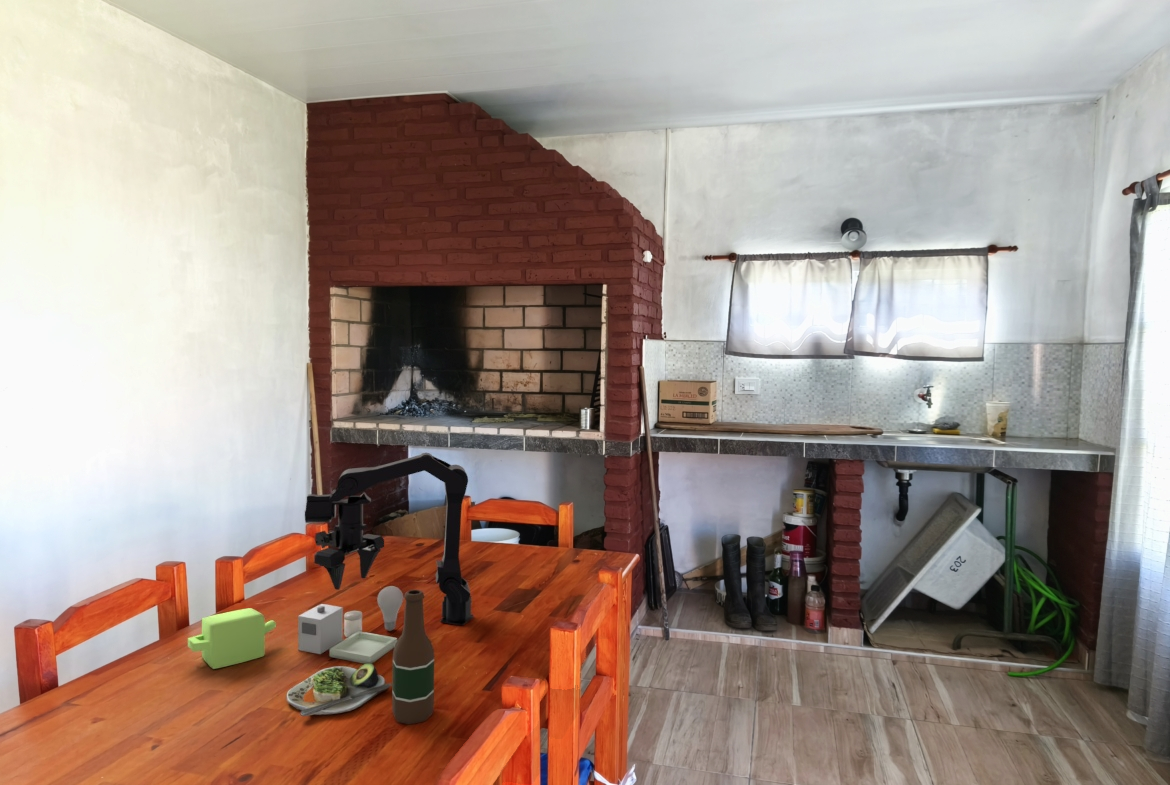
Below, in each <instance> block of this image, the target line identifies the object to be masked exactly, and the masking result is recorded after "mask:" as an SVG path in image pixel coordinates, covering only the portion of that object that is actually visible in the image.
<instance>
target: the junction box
mask: <svg viewBox="0 0 1170 785" xmlns="http://www.w3.org/2000/svg"><path fill="white" fill-rule="evenodd" d="M297 618H298V621H297V622H298V623H297V624H298V625H297V626H298V630H297V631H298V633H297V635H298V636H297V637H298V638H297V639H298V640H297V641H298V642H297V644H298V651H302V652H306V653H307V652H308V653H313V654H317V655H322V654H323V653H324V652H327V651H329V650H330V648H332V647H334V646H335V645H337V644H338V643H340V642H342V641H343V640H344V638H343V636H344V607H343V606H338V605H337V606H336V605H331V604H323V603H321V604H318V605H317V606H315V607H313V608H311V609H309V610H306V611H305V612H303V613H301V614H300V615H298V616H297Z"/></svg>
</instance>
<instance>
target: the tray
mask: <svg viewBox="0 0 1170 785" xmlns="http://www.w3.org/2000/svg"><path fill="white" fill-rule="evenodd" d="M397 640H398V637H393V636H388V635H383V634H377V633H372V632H366V631H362V632H361V631H358V632H356V633H355V634H353V635H351V636H350V637H346V638H345V639H343V641H341V642H339V643H338V644H336V645H335V646H333V647H331V648H330V649H329V658H335V659H340V660H343V661H350V662H355V663H361V664H363V665H364V664H367V663H369V664H373V663H375V662H376V661H378V660H379V659H380V658H382V657H383V656H385V655H386V654H387V653H389V652H391V651H392V650H394V647H395V645H396V642H397Z"/></svg>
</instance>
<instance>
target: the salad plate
mask: <svg viewBox="0 0 1170 785" xmlns="http://www.w3.org/2000/svg"><path fill="white" fill-rule="evenodd" d="M391 687H392V683H391V682H387V683H386V680H385V678H384V677H383V676H382V675H381V674H378V670H377V668H376V666H375V665H374V664H373V663H372V664H369V663H367V664H364V663H363V665H362V664H361V665H360V666H359V668H354V667H350V666H345V665H344V666H342V665H340V666H339V665H338V666H331V667H327V668H323V669H321V670H319V671H316V673H314V674H312V675H310V676H309V677H307V678H306V679H304V680H303V681H302V682H300V683H297V684H296V685H294V686H293V687H291V688H290V689H289V690H288V691H287V693H286V696H285V697H286V702H287V703H288V704H289V705H291V706H292V707H294V708H295V709H296V710H298V711H300V716H302V717H309V716H313V715H316V716H324V715H333V714H335V715H336V714H341V713H348V712H351V711H353V710H356V709H358V708H359V707H361V706H362V705H364V704H365V703H367V702H368V701H370V700H372V699H374V697H376V696H377V695H378V694H380V693H382V692H384V691H385V690H387V689H389V688H391ZM311 689H312V694H313V698H314V702H308V701H305V700H304V698H305V695H306V694H307V693H308V692H309V691H310V690H311Z"/></svg>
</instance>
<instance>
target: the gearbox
mask: <svg viewBox="0 0 1170 785" xmlns="http://www.w3.org/2000/svg"><path fill="white" fill-rule="evenodd" d="M265 620H266V619H265V615H264V614H263V613H261V612H260V611H257V610H256V609H253V608H251V607H250V608H249V607H248V608H242V609H237V610H231V611H227V612H223V613H218V614H212V615H210V616H206V617H202V618H201V633H200V634H198V635H194V636H191V637H187V647H188V648H189V649H190V650H191V651H192V652H194V653H195V652H201V658H202V659H203V661H205V663H206V664H207V665H208V666H209V667H210V668H211V669H213V670H215V669H221V668H224V667H228V666H232V665H238V664H241V663H244V662H249V661H253V660H256V659H258V658H262V657H264V656H265V652H266V651H265V646H266V642H265V640H266V636H265V635H266V634H268V633H269V632H270V631H273V630H274V629H276V626H277V622H276V621H274V620H269V621H267V622H266V621H265Z"/></svg>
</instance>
